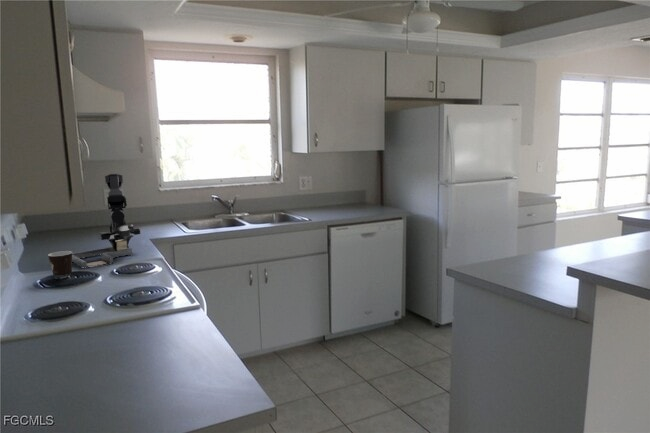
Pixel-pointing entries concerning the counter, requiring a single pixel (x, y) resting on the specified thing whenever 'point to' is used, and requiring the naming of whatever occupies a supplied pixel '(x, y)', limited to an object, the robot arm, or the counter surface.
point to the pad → (96, 263)
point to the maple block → (121, 244)
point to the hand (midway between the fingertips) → (121, 250)
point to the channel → (106, 254)
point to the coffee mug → (61, 262)
